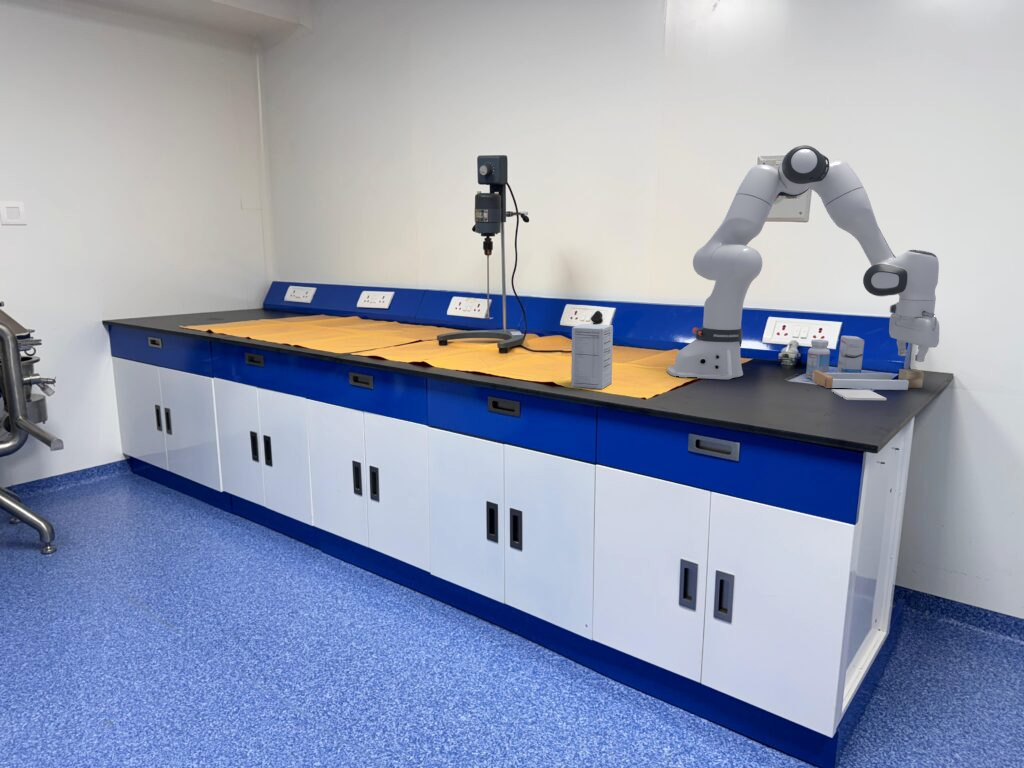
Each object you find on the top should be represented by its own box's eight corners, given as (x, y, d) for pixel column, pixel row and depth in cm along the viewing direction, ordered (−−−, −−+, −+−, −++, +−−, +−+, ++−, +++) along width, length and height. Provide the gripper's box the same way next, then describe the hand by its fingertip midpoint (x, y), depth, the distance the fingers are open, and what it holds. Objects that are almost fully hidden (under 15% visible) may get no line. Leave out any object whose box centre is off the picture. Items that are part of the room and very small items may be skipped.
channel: (826, 388, 194) (827, 377, 194) (811, 380, 205) (812, 369, 204) (907, 389, 193) (909, 378, 192) (888, 381, 204) (890, 371, 203)
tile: (846, 399, 181) (846, 397, 181) (831, 391, 191) (831, 389, 191) (886, 400, 181) (886, 398, 180) (868, 392, 190) (869, 389, 190)
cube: (905, 387, 196) (907, 372, 196) (897, 384, 201) (899, 369, 200) (921, 388, 196) (923, 372, 195) (913, 384, 201) (915, 369, 200)
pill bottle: (826, 376, 211) (830, 339, 209) (828, 380, 205) (832, 342, 203) (805, 375, 213) (808, 338, 211) (806, 379, 207) (809, 341, 205)
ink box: (861, 378, 208) (865, 339, 206) (843, 378, 209) (847, 339, 207) (853, 373, 216) (857, 335, 214) (836, 372, 217) (840, 335, 215)
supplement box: (612, 383, 200) (614, 324, 197) (602, 389, 192) (604, 328, 188) (580, 380, 204) (582, 323, 200) (569, 386, 196) (571, 326, 192)
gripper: (949, 313, 184) (942, 365, 187) (909, 305, 204) (903, 352, 207) (924, 313, 184) (918, 365, 187) (886, 305, 204) (882, 352, 207)
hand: (910, 358), depth 197 cm, fingers open, 8 cm apart
